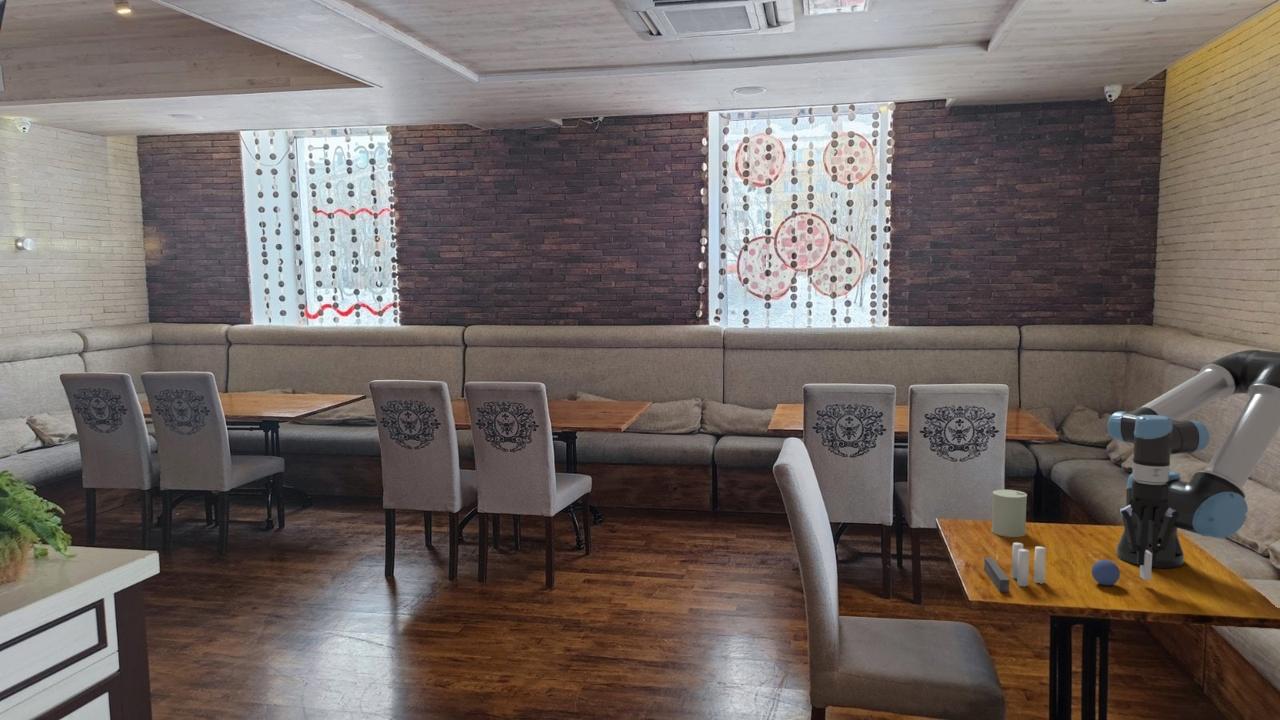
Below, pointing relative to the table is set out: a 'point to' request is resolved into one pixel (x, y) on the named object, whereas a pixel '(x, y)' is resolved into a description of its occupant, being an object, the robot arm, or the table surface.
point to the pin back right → (1015, 559)
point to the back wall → (996, 575)
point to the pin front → (1039, 565)
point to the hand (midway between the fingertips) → (1145, 578)
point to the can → (1009, 513)
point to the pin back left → (1023, 567)
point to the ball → (1105, 572)
